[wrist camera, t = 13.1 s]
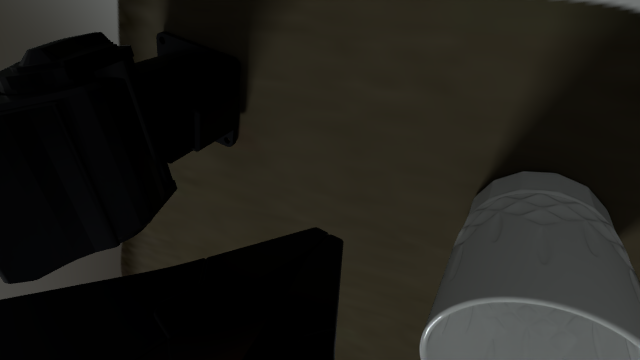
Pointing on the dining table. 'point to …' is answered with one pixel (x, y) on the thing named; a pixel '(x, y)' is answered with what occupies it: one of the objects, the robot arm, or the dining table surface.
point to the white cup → (536, 279)
